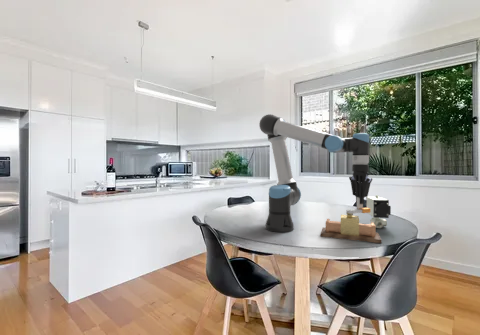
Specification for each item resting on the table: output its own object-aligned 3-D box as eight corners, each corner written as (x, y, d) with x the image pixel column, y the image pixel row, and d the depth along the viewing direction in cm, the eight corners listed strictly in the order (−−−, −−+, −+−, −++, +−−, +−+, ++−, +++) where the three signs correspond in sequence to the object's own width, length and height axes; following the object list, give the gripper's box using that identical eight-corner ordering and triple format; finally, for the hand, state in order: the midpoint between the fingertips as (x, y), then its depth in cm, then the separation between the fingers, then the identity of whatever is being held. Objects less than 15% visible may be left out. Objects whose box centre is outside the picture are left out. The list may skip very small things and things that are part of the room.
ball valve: (392, 231, 129) (393, 197, 128) (375, 230, 130) (375, 197, 130) (380, 223, 146) (380, 193, 146) (365, 222, 148) (365, 193, 148)
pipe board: (320, 236, 120) (320, 233, 120) (322, 230, 131) (322, 227, 131) (381, 243, 110) (381, 239, 110) (378, 235, 121) (378, 232, 121)
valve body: (325, 233, 121) (325, 214, 121) (326, 229, 129) (326, 211, 128) (375, 239, 112) (376, 218, 112) (374, 234, 120) (374, 215, 120)
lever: (349, 215, 118) (349, 210, 118) (345, 213, 121) (345, 209, 121) (370, 212, 124) (370, 208, 124) (365, 211, 126) (365, 207, 126)
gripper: (345, 163, 130) (344, 208, 130) (365, 164, 118) (364, 213, 118) (356, 163, 132) (355, 207, 133) (376, 164, 120) (376, 212, 121)
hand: (359, 209), depth 126 cm, fingers closed
